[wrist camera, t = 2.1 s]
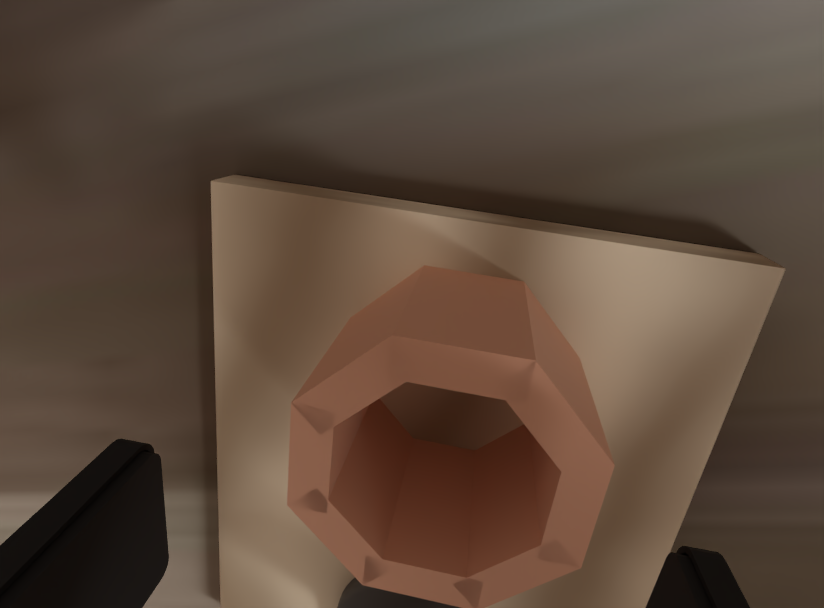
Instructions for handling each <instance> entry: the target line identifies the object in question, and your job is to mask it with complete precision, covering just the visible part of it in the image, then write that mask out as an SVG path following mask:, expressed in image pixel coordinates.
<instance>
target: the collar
mask: <svg viewBox="0 0 824 608" xmlns="http://www.w3.org/2000/svg"><path fill="white" fill-rule="evenodd" d="M405 382H410V383H415V384H421V385H426V386H432V387H437V388H442V389H448V390H453V391H458V392H464V393H469V394H475V395H480V396H485V397H491V398H496V399H501V400H506V402H507V403H508V404H509V405H510V407H511V408H512V409H513V411H514V412H515V413H516V414H517V416H518V417H519V418H520V419H521V421H522V422H523V423H524V424H523V425H521V426H520V427H518V428H516V429H514V430H512V431H510V432H508V433H507V434H505V435H503V436H501V437H499V438H497V439H495V440H493V441H492V442H490V443H488V444H486V445H484V446H482V447H480V448H479V449H477V450H470V449H465V448H460V447H455V446H450V445H445V444H440V443H435V442H430V441H424V440H419V439H414V438H413V437H412V436H411V435H410V434H409V433H408V432H407V430H406V429H405V428H404V427H403V426H402V424H401V423H400V422H399V421H398V420H397V418H396V417H395V416H394V415H393V414H392V413H391V411H390V410H389V409H388V408H387V407H386V405H385V404H384V403H383V402H382V401H381V400H380V398H381V397H383V396H384V395H386V394H387V393H389V392H391V391H392V390H394V389H395V388H397V387H399V386H400V385H402V384H403V383H405ZM614 467H615V465H614V461H613V458H612V455H611V452H610V449H609V446H608V443H607V440H606V437H605V434H604V431H603V428H602V425H601V422H600V419H599V416H598V412H597V409H596V406H595V403H594V400H593V397H592V394H591V391H590V388H589V385H588V382H587V379H586V376H585V373H584V370H583V366H582V363H581V360H580V358H579V356H578V355H577V353H576V352H575V351H574V349H573V348H572V347H571V345H570V344H569V342H568V341H567V340H566V338H565V337H564V336H563V334H562V333H561V331H560V330H559V329H558V327H557V326H556V325H555V323H554V322H553V321H552V319H551V318H550V316H549V315H548V314H547V312H546V311H545V310H544V308H543V307H542V305H541V304H540V303H539V301H538V300H537V299H536V297H535V296H534V294H533V293H532V292H531V290H530V289H529V288H528V286H527V285H526V283H525V282H524V281H518V280H512V279H505V278H499V277H493V276H487V275H481V274H475V273H469V272H462V271H456V270H450V269H444V268H438V267H432V266H426V265H424V266H422V267H421V268H420V269H418V270H417V271H415V272H414V273H413V274H411V275H410V276H408V277H407V278H406V279H404V280H403V281H401V282H400V283H399V284H397V285H396V286H394V287H393V288H391V289H390V290H389V291H387V292H386V293H384V294H383V295H382V296H380V297H379V298H377V299H376V300H375V301H373V302H372V303H370V304H369V305H367V306H366V307H365V308H363V309H362V310H360V311H359V312H358V313H356V314H355V315H353V316H352V317H351V318H350V319H349V320H348V322H347V323H346V325H345V326H344V328H343V329H342V330H341V332H340V333H339V335H338V336H337V338H336V339H335V340H334V342H333V343H332V345H331V346H330V348H329V349H328V350H327V352H326V353H325V355H324V356H323V358H322V359H321V360H320V362H319V363H318V365H317V366H316V368H315V369H314V371H313V372H312V373H311V375H310V376H309V378H308V379H307V381H306V382H305V383H304V385H303V386H302V388H301V389H300V391H299V392H298V393H297V395H296V396H295V398H294V399H293V401H292V402H291V417H290V442H289V467H288V492H287V506H288V507H289V508H290V509H291V510H292V511H293V512H294V513H295V514H296V515H297V516H298V517H299V518H300V519H301V520H302V521H303V523H304V524H305V525H306V526H307V527H308V528H309V529H310V530H311V531H312V532H313V533H314V534H315V535H316V536H317V537H318V538H319V540H320V541H321V542H322V543H323V544H324V545H325V546H326V547H327V548H328V549H329V550H330V551H331V552H332V553H333V554H334V555H335V557H336V558H337V559H338V560H339V561H340V562H341V563H342V564H343V565H344V566H345V567H346V568H347V569H348V570H349V571H350V572H351V574H352V575H353V576H354V577H355V578H356V579H357V580H358V581H359V582H360V583H361V584H362V585H364V586H369V587H373V588H377V589H382V590H386V591H391V592H395V593H399V594H404V595H408V596H413V597H417V598H421V599H426V600H430V601H435V602H439V603H443V604H448V605H452V606H457V607H461V608H485V607H488V606H490V605H493V604H495V603H498V602H500V601H502V600H505V599H507V598H510V597H512V596H515V595H517V594H519V593H522V592H524V591H527V590H529V589H532V588H534V587H537V586H539V585H541V584H544V583H546V582H549V581H551V580H554V579H556V578H558V577H561V576H563V575H566V574H568V573H571V572H573V571H575V570H578V569H580V568H581V567H582V564H583V561H584V558H585V555H586V552H587V549H588V546H589V543H590V540H591V537H592V534H593V531H594V527H595V524H596V521H597V518H598V515H599V512H600V509H601V506H602V503H603V500H604V497H605V494H606V491H607V488H608V485H609V482H610V479H611V476H612V473H613V470H614Z"/></svg>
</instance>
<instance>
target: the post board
mask: <svg viewBox="0 0 824 608" xmlns="http://www.w3.org/2000/svg"><path fill="white" fill-rule="evenodd" d="M211 216H212V259H213V303H214V346H215V389H216V432H217V475H218V519H219V562H220V605H221V608H461V607H457V606H452V605H448V604H443V603H439V602H435V601H430V600H426V599H421V598H417V597H413V596H408V595H404V594H399V593H395V592H391V591H386V590H382V589H377V588H373V587H369V586H364V585H362V584H361V583H360V582H359V581H358V580H357V579H356V578H355V577H354V576H353V575H352V574H351V572H350V571H349V570H348V569H347V568H346V567H345V566H344V565H343V564H342V563H341V562H340V561H339V560H338V559H337V558H336V557H335V555H334V554H333V553H332V552H331V551H330V550H329V549H328V548H327V547H326V546H325V545H324V544H323V543H322V542H321V541H320V540H319V538H318V537H317V536H316V535H315V534H314V533H313V532H312V531H311V530H310V529H309V528H308V527H307V526H306V525H305V524H304V523H303V521H302V520H301V519H300V518H299V517H298V516H297V515H296V514H295V513H294V512H293V511H292V510H291V509H290V508H289V507H288V506H287V492H288V467H289V442H290V417H291V402H292V401H293V399H294V398H295V396H296V395H297V393H298V392H299V391H300V389H301V388H302V386H303V385H304V383H305V382H306V381H307V379H308V378H309V376H310V375H311V373H312V372H313V371H314V369H315V368H316V366H317V365H318V363H319V362H320V360H321V359H322V358H323V356H324V355H325V353H326V352H327V350H328V349H329V348H330V346H331V345H332V343H333V342H334V340H335V339H336V338H337V336H338V335H339V333H340V332H341V330H342V329H343V328H344V326H345V325H346V323H347V322H348V320H349V319H350V318H351V317H352V316H353V315H355V314H356V313H358V312H359V311H360V310H362V309H363V308H365V307H366V306H367V305H369V304H370V303H372V302H373V301H375V300H376V299H377V298H379V297H380V296H382V295H383V294H384V293H386V292H387V291H389V290H390V289H391V288H393V287H394V286H396V285H397V284H399V283H400V282H401V281H403V280H404V279H406V278H407V277H408V276H410V275H411V274H413V273H414V272H415V271H417V270H418V269H420V268H421V267H422V266H424V265H426V266H432V267H438V268H444V269H450V270H456V271H462V272H469V273H475V274H481V275H487V276H493V277H499V278H505V279H512V280H518V281H524V282H525V283H526V285H527V286H528V288H529V289H530V290H531V292H532V293H533V294H534V296H535V297H536V299H537V300H538V301H539V303H540V304H541V305H542V307H543V308H544V310H545V311H546V312H547V314H548V315H549V316H550V318H551V319H552V321H553V322H554V323H555V325H556V326H557V327H558V329H559V330H560V331H561V333H562V334H563V336H564V337H565V338H566V340H567V341H568V342H569V344H570V345H571V347H572V348H573V349H574V351H575V352H576V353H577V355H578V356H579V358H580V360H581V363H582V366H583V370H584V373H585V376H586V379H587V382H588V385H589V388H590V391H591V394H592V397H593V400H594V403H595V406H596V409H597V412H598V416H599V419H600V422H601V425H602V428H603V431H604V434H605V437H606V440H607V443H608V446H609V449H610V452H611V455H612V458H613V461H614V465H615V467H614V470H613V473H612V476H611V479H610V482H609V485H608V488H607V491H606V494H605V497H604V500H603V503H602V506H601V509H600V512H599V515H598V518H597V521H596V524H595V527H594V531H593V534H592V537H591V540H590V543H589V546H588V549H587V552H586V555H585V558H584V561H583V564H582V567H581V568H580V569H578V570H575V571H573V572H571V573H568V574H566V575H563V576H561V577H558V578H556V579H554V580H551V581H549V582H546V583H544V584H541V585H539V586H537V587H534V588H532V589H529V590H527V591H524V592H522V593H519V594H517V595H515V596H512V597H510V598H507V599H505V600H502V601H500V602H498V603H495V604H493V605H490V606H488V607H485V608H646V605H647V603H648V600H649V598H650V596H651V593H652V591H653V588H654V586H655V584H656V581H657V579H658V576H659V574H660V572H661V569H662V567H663V564H664V562H665V560H666V557H667V556H668V554H669V553H670V551H671V549H672V546H673V544H674V541H675V539H676V536H677V534H678V531H679V529H680V527H681V524H682V522H683V519H684V517H685V514H686V512H687V509H688V507H689V504H690V502H691V500H692V497H693V495H694V492H695V490H696V487H697V485H698V482H699V480H700V478H701V475H702V473H703V470H704V468H705V465H706V463H707V460H708V458H709V456H710V453H711V451H712V448H713V446H714V443H715V441H716V438H717V436H718V434H719V431H720V429H721V426H722V424H723V421H724V419H725V416H726V414H727V411H728V409H729V407H730V404H731V402H732V399H733V397H734V394H735V392H736V389H737V387H738V385H739V382H740V380H741V377H742V375H743V372H744V370H745V367H746V365H747V363H748V360H749V358H750V355H751V353H752V350H753V348H754V345H755V343H756V340H757V338H758V336H759V333H760V331H761V328H762V326H763V323H764V321H765V318H766V316H767V314H768V311H769V309H770V306H771V304H772V301H773V299H774V296H775V294H776V292H777V289H778V287H779V284H780V282H781V279H782V277H783V274H784V272H785V270H786V268H784V267H782V266H780V265H778V264H777V263H775V262H773V261H771V260H769V259H768V258H766V257H764V256H762V255H761V254H758V253H751V252H744V251H738V250H731V249H725V248H718V247H711V246H705V245H698V244H691V243H685V242H678V241H672V240H665V239H658V238H652V237H645V236H638V235H632V234H625V233H619V232H612V231H605V230H599V229H592V228H585V227H579V226H572V225H566V224H559V223H552V222H546V221H539V220H532V219H526V218H519V217H512V216H506V215H499V214H493V213H486V212H479V211H473V210H466V209H459V208H453V207H446V206H440V205H433V204H426V203H420V202H413V201H406V200H400V199H393V198H387V197H380V196H373V195H367V194H360V193H353V192H347V191H340V190H334V189H327V188H320V187H314V186H307V185H300V184H294V183H287V182H280V181H274V180H267V179H261V178H254V177H247V176H241V175H231V176H227V177H223V178H220V179H216V180H212V181H211ZM380 400H381V401H382V402H383V403H384V404H385V405H386V407H387V408H388V409H389V410H390V411H391V413H392V414H393V415H394V416H395V417H396V418H397V420H398V421H399V422H400V423H401V424H402V426H403V427H404V428H405V429H406V430H407V432H408V433H409V434H410V435H411V436H412V437H413V438H414V439H419V440H424V441H430V442H435V443H440V444H445V445H450V446H455V447H460V448H465V449H470V450H477V449H479V448H480V447H482V446H484V445H486V444H488V443H490V442H492V441H493V440H495V439H497V438H499V437H501V436H503V435H505V434H507V433H508V432H510V431H512V430H514V429H516V428H518V427H520V426H521V425H523V424H524V423H523V422H522V421H521V419H520V418H519V417H518V416H517V414H516V413H515V412H514V411H513V409H512V408H511V407H510V405H509V404H508V403H507V402H506V400H501V399H496V398H491V397H485V396H480V395H475V394H469V393H464V392H458V391H453V390H448V389H442V388H437V387H432V386H426V385H421V384H415V383H410V382H405V383H403V384H402V385H400V386H399V387H397V388H395V389H394V390H392V391H391V392H389V393H387V394H386V395H384V396H383V397H381V398H380Z"/></svg>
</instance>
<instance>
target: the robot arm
mask: <svg viewBox="0 0 824 608" xmlns="http://www.w3.org/2000/svg"><path fill="white" fill-rule="evenodd" d="M168 560H169V554H168V542H167V530H166V517H165V505H164V493H163V480H162V468H161V458H160V456H159V454H155V453H154V449H153V447H152V446H151V445H150V444H146V443H141V442H136V441H131V440H125V439H118V440H116V441H114V442H113V443H112V444H110V445H109V446H108V447H107V448H106V449H105V450H104V451H103V452H102V453H101V454H100V455H98V456H97V457H96V458H95V459H94V460H93V461H92V462H91V463H90V464H89V465H88V466H87V467H85V468H84V469H83V470H82V471H81V472H80V473H79V474H78V475H77V476H76V477H75V478H73V479H72V480H71V481H70V482H69V483H68V484H67V485H66V486H65V487H64V488H63V489H62V490H60V491H59V492H58V493H57V494H56V495H55V496H54V497H53V498H52V499H51V500H50V501H49V502H47V503H46V504H45V505H44V506H43V507H42V508H41V509H40V510H39V511H38V512H37V513H35V514H34V515H33V516H32V517H31V518H30V519H29V520H28V521H26V522H25V523H24V524H23V525H22V526H21V527H20V528H19V529H18V530H17V531H16V532H15V533H13V534H12V535H11V536H10V537H9V538H8V539H7V540H6V541H5V542H4V543H3V544H1V545H0V608H142V607H143V606H144V604H145V603H146V601H147V600H148V598H149V597H150V595H151V594H152V592H153V591H154V589H155V588H156V586H157V585H158V583H159V582H160V580H161V579H162V577H163V575H164V573H165V571H166V568H167V565H168ZM646 608H750V607H749V605H748V603H747V601H746V599H745V597H744V595H743V593H742V592H741V590H740V588H739V586H738V584H737V582H736V580H735V578H734V576H733V574H732V572H731V570H730V568H729V566H728V565H727V563H726V561H725V559H724V558H723V556H722V555H721V554H719V553H718V552H713V551H708V550H703V549H698V548H692V547H687V546H682V547H680V548H679V549H678V551H677V553H669V554H668V556H667V557H666V560H665V562H664V564H663V567H662V569H661V572H660V574H659V576H658V579H657V581H656V584H655V586H654V588H653V591H652V593H651V596H650V598H649V600H648V603H647V605H646Z"/></svg>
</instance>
